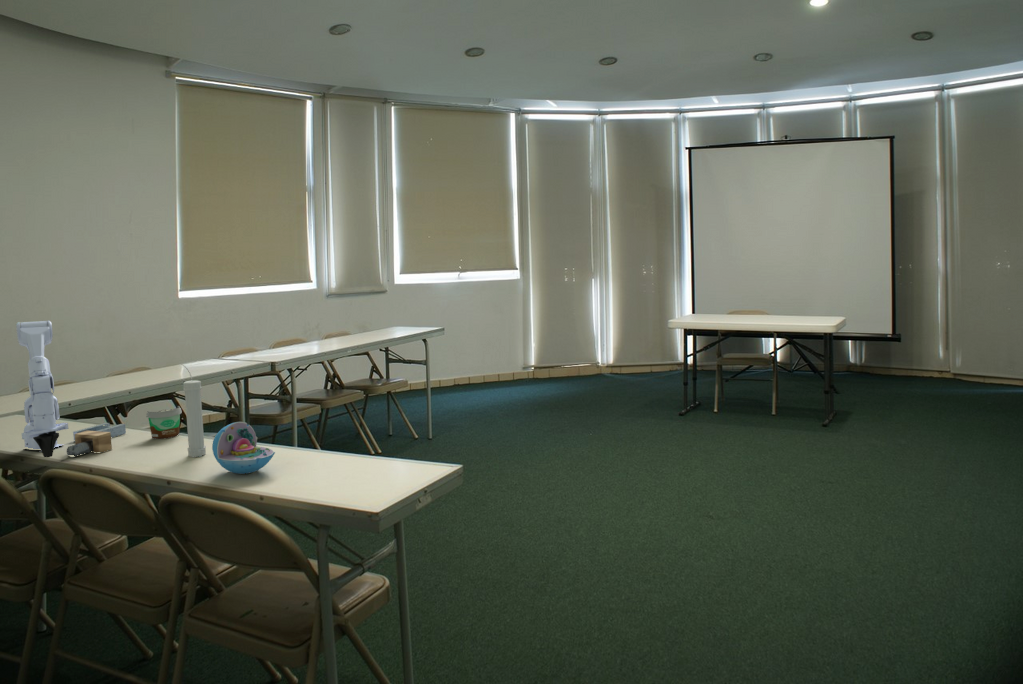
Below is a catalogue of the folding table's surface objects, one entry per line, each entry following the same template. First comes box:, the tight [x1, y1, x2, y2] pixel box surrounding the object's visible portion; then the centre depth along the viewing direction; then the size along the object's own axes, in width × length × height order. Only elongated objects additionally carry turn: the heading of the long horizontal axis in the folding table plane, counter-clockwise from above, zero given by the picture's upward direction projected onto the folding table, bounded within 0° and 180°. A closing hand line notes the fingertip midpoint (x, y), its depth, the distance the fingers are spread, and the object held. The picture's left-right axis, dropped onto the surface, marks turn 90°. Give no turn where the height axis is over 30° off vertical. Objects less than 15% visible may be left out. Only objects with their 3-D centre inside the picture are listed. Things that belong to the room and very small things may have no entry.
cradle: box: [72, 422, 127, 441], centre depth 264 cm, size 9×14×4 cm, turn 163°
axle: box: [66, 439, 94, 456], centre depth 244 cm, size 4×12×4 cm, turn 162°
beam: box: [74, 431, 113, 453], centre depth 246 cm, size 10×5×6 cm, turn 73°
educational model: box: [211, 421, 276, 475], centre depth 218 cm, size 16×19×15 cm
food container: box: [146, 405, 183, 440], centre depth 263 cm, size 12×6×10 cm, turn 143°
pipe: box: [180, 363, 206, 458], centre depth 237 cm, size 6×6×30 cm
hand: (48, 456), depth 230 cm, fingers closed
